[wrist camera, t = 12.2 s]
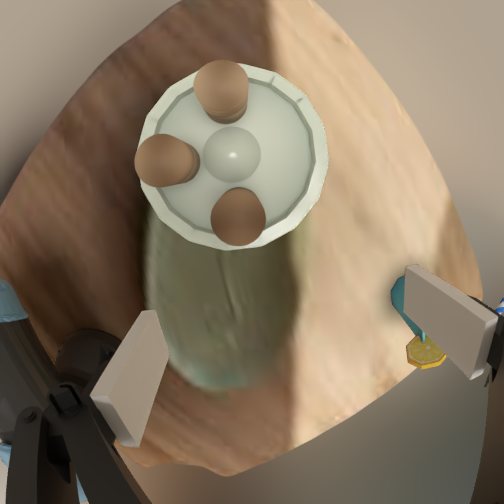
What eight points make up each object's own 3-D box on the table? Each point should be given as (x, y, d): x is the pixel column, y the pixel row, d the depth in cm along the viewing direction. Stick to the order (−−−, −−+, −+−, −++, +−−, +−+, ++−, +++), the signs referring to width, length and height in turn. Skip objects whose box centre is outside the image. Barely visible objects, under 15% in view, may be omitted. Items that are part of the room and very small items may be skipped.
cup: (434, 234, 35) (511, 269, 20) (452, 274, 36) (519, 317, 22) (360, 301, 37) (414, 367, 22) (384, 336, 38) (434, 402, 24)
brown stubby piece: (215, 189, 32) (207, 195, 24) (258, 184, 32) (262, 188, 24) (220, 230, 33) (214, 249, 25) (262, 226, 33) (268, 243, 25)
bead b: (207, 127, 30) (196, 112, 22) (202, 88, 29) (191, 64, 21) (249, 121, 30) (252, 105, 22) (244, 83, 29) (245, 56, 21)
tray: (160, 253, 34) (154, 259, 32) (138, 89, 29) (131, 84, 26) (328, 232, 34) (334, 237, 32) (309, 66, 29) (313, 59, 26)
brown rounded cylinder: (162, 186, 31) (138, 191, 24) (157, 146, 30) (131, 139, 22) (202, 180, 31) (190, 182, 24) (197, 139, 30) (183, 128, 22)
